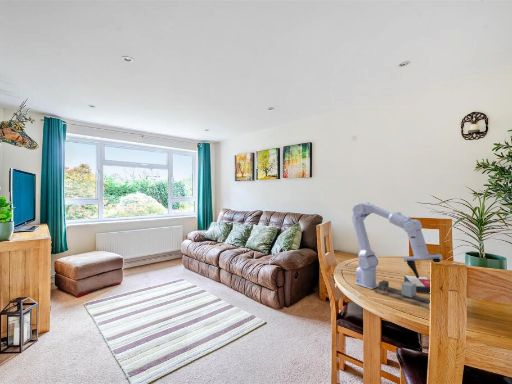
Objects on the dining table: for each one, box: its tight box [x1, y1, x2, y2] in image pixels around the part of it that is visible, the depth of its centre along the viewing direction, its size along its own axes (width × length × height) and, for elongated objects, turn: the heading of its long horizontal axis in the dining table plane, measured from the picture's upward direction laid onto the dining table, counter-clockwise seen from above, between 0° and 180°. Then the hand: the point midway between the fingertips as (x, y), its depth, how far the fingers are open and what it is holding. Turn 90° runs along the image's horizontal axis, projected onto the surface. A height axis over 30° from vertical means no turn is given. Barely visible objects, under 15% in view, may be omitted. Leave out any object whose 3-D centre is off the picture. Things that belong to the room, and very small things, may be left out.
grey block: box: [401, 281, 417, 297], centre depth 113 cm, size 4×6×5 cm
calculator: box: [403, 275, 431, 294], centre depth 127 cm, size 11×4×15 cm
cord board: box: [374, 280, 430, 310], centre depth 114 cm, size 25×10×4 cm, turn 37°
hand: (428, 277), depth 107 cm, fingers open, 7 cm apart
